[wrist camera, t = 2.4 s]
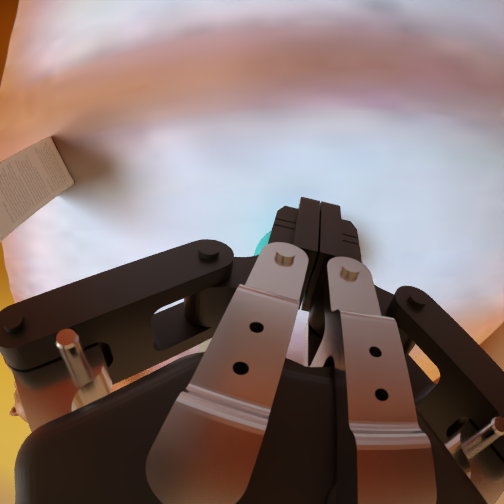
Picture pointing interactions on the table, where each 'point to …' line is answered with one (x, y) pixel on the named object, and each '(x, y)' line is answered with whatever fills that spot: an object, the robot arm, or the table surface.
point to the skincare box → (30, 183)
